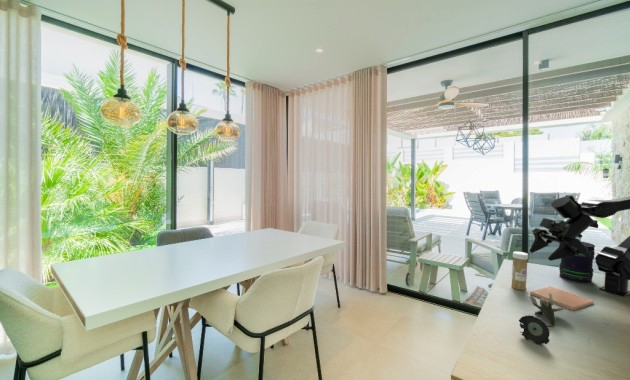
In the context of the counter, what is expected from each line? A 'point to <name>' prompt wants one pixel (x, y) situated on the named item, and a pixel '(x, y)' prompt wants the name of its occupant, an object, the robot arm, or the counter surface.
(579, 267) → the storage jar
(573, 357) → the counter surface
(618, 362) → the counter surface
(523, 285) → the sprinkles bottle
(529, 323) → the artificial flower
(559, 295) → the terracotta tile
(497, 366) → the counter surface
